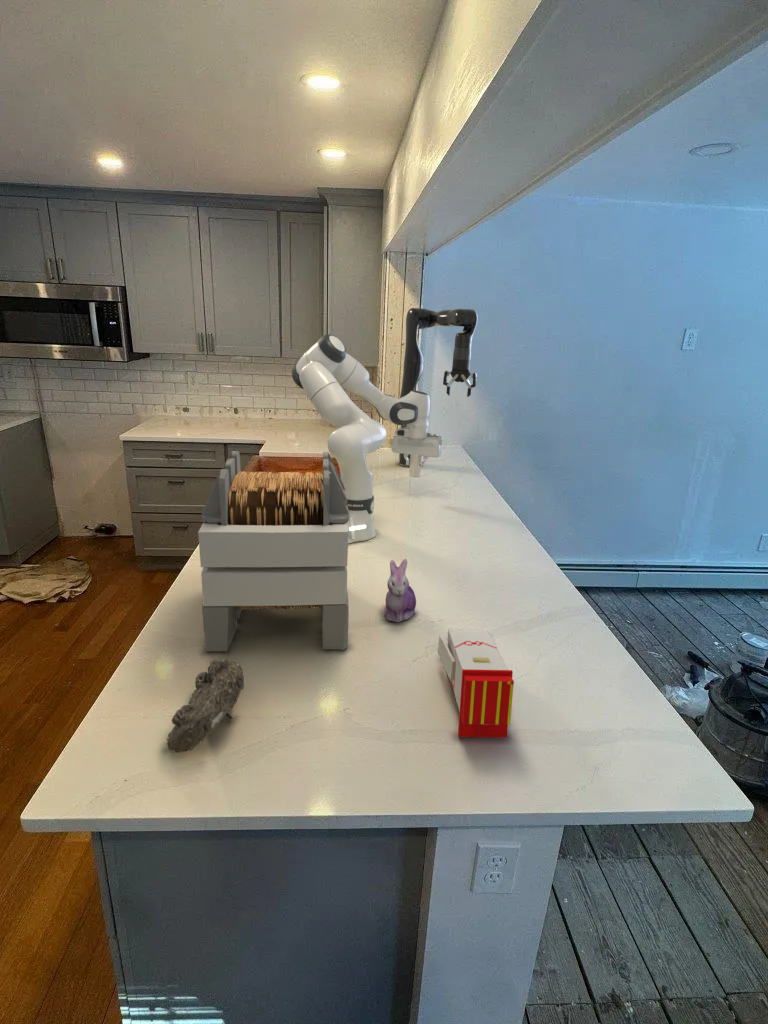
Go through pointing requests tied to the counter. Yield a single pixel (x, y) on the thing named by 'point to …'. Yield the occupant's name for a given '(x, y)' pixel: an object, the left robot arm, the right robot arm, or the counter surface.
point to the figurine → (399, 594)
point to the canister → (415, 465)
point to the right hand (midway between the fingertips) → (458, 395)
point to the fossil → (206, 705)
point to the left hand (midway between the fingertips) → (415, 465)
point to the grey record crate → (274, 549)
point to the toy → (478, 682)
